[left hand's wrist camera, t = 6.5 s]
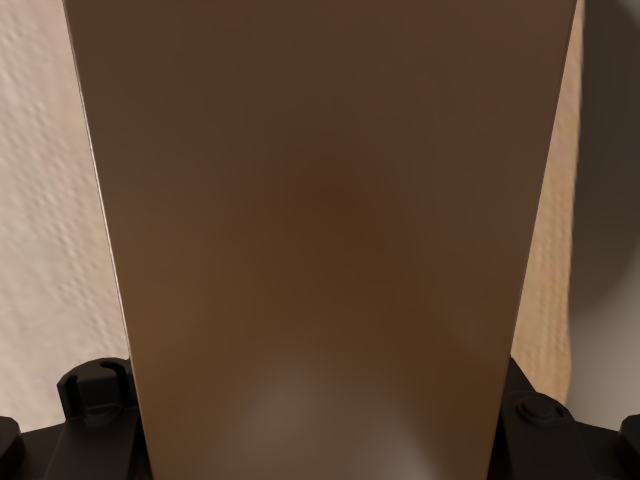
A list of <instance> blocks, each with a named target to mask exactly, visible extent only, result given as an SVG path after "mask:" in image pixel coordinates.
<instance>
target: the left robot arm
mask: <svg viewBox="0 0 640 480" xmlns="http://www.w3.org/2000/svg"><path fill="white" fill-rule="evenodd" d="M57 388H58V392H59V396H60V399H61V403H62V407H63V411H64V414H65V418H66V421H65V423H62V424H58V425H55V426H51V427H47V428H42V429H38V430H34V431H29V432H25V433H21V431H20V428H19V425H18V423H17V422H16V421H15V420H14V419H12V418H10V417H3V416H0V480H153V477H152V472H151V466H150V461H149V456H148V450H147V445H146V440H145V435H144V429H143V424H142V419H141V413H140V408H139V403H138V398H137V392H136V387H135V382H134V376H133V371H132V366H131V361H130V356H129V359H127V360H124V359H120V358H116V357H113V358H100V359H96V360H92V361H88V362H86V363H84V364H81V365H79V366H77V367H75V368H73V369H72V370H71V371H69V372H68V373H66V374H65V375H64V376H63V377H62V378H61V379H60V381H59V382H58V383H57ZM487 480H640V414H638V415H631V416H628V417H627V418H626V419H624V420H623V421H622V424H621V427H620V430H619V431H614V430H610V429H605V428H601V427H596V426H592V425H588V424H584V423H581V422H577V421H575V420H574V418H573V417H572V415H571V414H570V412H569V411H568V409H567V408H565V407H564V406H563V405H562V404H561V403H559V402H558V401H557V400H555V399H553V398H551V397H549V396H547V395H545V394H542V393H538V392H536V391H535V389H534V388H533V386H532V385H531V384H530V382H529V381H528V379H527V378H526V376H525V375H524V373H523V372H522V370H521V369H520V368H519V366H518V365H517V363H516V362H515V360H514V359H513V358H511V354H510V358H509V363H508V368H507V374H506V379H505V384H504V390H503V395H502V400H501V405H500V411H499V416H498V421H497V427H496V432H495V437H494V443H493V448H492V453H491V458H490V464H489V469H488V474H487Z"/></svg>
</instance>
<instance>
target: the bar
mask: <svg viewBox="0 0 640 480" xmlns="http://www.w3.org/2000/svg"><path fill="white" fill-rule="evenodd" d="M62 1H63V6H64V11H65V17H66V22H67V27H68V33H69V38H70V43H71V49H72V54H73V59H74V64H75V70H76V75H77V80H78V86H79V91H80V96H81V101H82V107H83V112H84V117H85V123H86V128H87V133H88V138H89V144H90V149H91V154H92V160H93V165H94V170H95V175H96V181H97V186H98V191H99V197H100V202H101V207H102V212H103V218H104V223H105V228H106V234H107V239H108V244H109V249H110V255H111V260H112V265H113V271H114V276H115V281H116V287H117V292H118V297H119V302H120V308H121V313H122V318H123V324H124V329H125V334H126V339H127V345H128V350H129V355H130V361H131V366H132V371H133V376H134V382H135V387H136V392H137V398H138V403H139V408H140V413H141V419H142V424H143V429H144V435H145V440H146V445H147V450H148V456H149V461H150V466H151V472H152V477H153V480H487V474H488V469H489V464H490V458H491V453H492V448H493V443H494V437H495V432H496V427H497V421H498V416H499V411H500V405H501V400H502V395H503V390H504V384H505V379H506V374H507V368H508V363H509V358H510V353H511V347H512V342H513V337H514V331H515V326H516V321H517V315H518V310H519V305H520V300H521V294H522V289H523V284H524V278H525V273H526V268H527V262H528V257H529V252H530V247H531V241H532V236H533V231H534V225H535V220H536V215H537V209H538V204H539V199H540V194H541V188H542V183H543V178H544V172H545V167H546V162H547V156H548V151H549V146H550V141H551V135H552V130H553V125H554V119H555V114H556V109H557V103H558V98H559V93H560V88H561V82H562V77H563V72H564V66H565V61H566V56H567V51H568V45H569V40H570V35H571V29H572V24H573V19H574V13H575V8H576V3H577V0H62Z"/></svg>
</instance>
